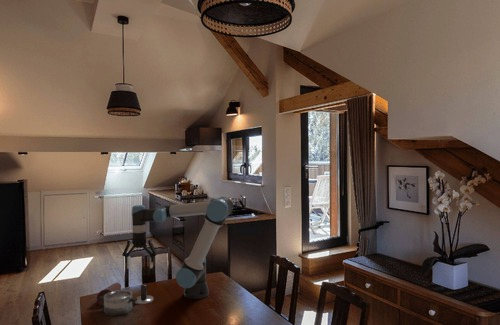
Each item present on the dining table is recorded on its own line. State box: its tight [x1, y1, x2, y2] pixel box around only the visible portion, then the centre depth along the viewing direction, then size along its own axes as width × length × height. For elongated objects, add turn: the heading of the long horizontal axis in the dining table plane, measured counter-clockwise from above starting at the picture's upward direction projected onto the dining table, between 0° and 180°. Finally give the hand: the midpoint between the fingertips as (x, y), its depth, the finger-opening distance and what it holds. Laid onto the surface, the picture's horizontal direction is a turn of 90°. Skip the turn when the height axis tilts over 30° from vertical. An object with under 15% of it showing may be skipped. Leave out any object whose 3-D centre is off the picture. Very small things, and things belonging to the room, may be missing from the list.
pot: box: [99, 289, 137, 317], centre depth 190 cm, size 21×15×8 cm
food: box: [96, 282, 122, 307], centre depth 206 cm, size 21×9×9 cm, turn 8°
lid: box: [133, 284, 154, 305], centre depth 202 cm, size 11×11×9 cm
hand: (140, 267), depth 203 cm, fingers open, 13 cm apart
